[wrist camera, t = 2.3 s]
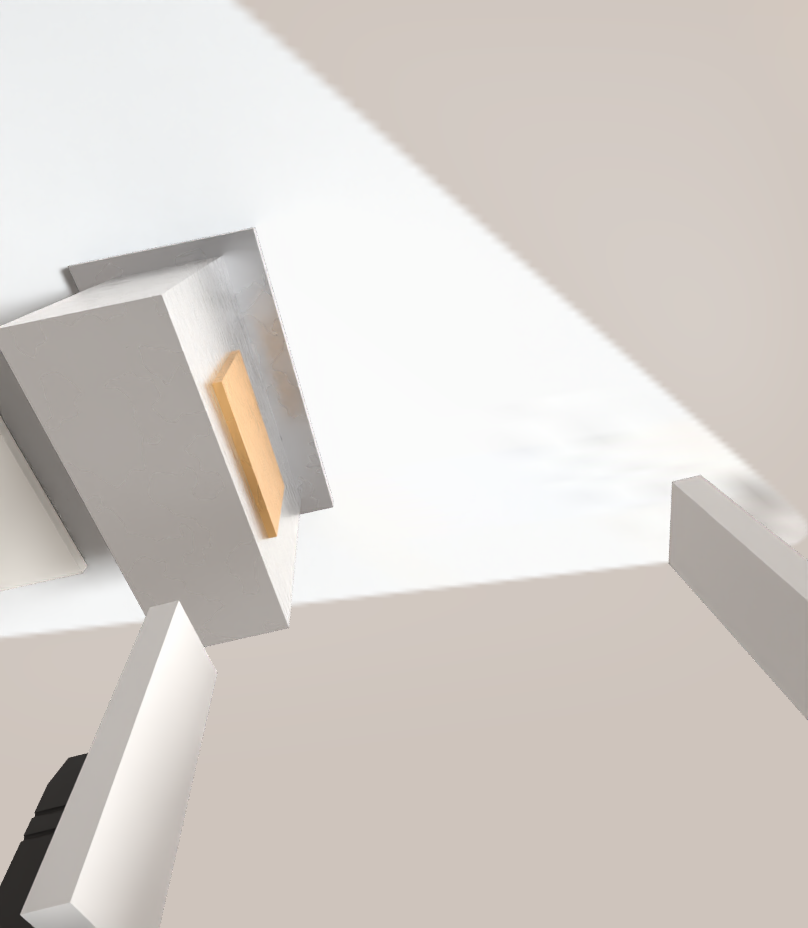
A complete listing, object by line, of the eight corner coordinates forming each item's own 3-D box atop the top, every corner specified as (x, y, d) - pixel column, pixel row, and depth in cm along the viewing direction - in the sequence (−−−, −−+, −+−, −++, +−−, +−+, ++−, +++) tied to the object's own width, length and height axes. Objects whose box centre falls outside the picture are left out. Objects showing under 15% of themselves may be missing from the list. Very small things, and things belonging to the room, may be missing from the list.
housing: (75, 264, 30) (-86, 313, 18) (255, 227, 30) (208, 252, 18) (193, 530, 38) (134, 678, 27) (333, 499, 38) (334, 633, 27)
